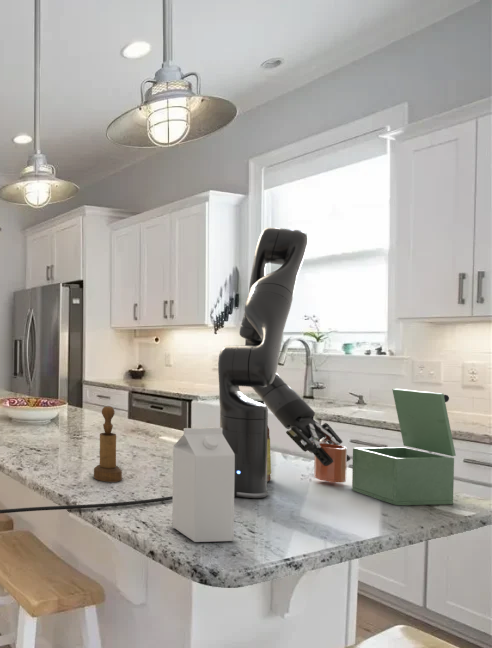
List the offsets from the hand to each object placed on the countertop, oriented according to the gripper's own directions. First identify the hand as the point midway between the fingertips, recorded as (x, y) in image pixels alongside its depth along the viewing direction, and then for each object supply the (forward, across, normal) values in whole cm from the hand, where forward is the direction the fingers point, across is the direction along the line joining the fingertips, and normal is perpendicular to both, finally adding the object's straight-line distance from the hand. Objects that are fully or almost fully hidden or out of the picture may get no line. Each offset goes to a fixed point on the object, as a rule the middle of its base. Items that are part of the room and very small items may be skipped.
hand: (338, 462), depth 119 cm
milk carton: (+10, -56, -2) cm, 57 cm away
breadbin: (+12, +2, -4) cm, 12 cm away
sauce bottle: (-4, -13, +12) cm, 18 cm away
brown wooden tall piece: (-14, -46, +23) cm, 53 cm away
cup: (+2, 0, +4) cm, 5 cm away
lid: (+1, +6, -17) cm, 18 cm away
